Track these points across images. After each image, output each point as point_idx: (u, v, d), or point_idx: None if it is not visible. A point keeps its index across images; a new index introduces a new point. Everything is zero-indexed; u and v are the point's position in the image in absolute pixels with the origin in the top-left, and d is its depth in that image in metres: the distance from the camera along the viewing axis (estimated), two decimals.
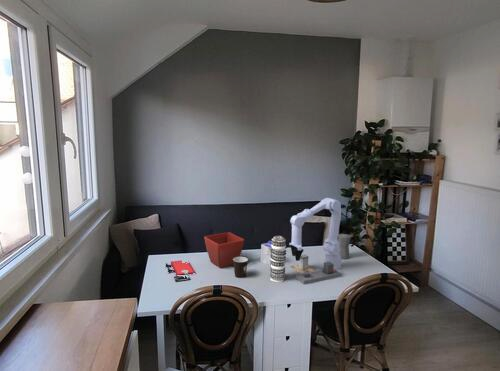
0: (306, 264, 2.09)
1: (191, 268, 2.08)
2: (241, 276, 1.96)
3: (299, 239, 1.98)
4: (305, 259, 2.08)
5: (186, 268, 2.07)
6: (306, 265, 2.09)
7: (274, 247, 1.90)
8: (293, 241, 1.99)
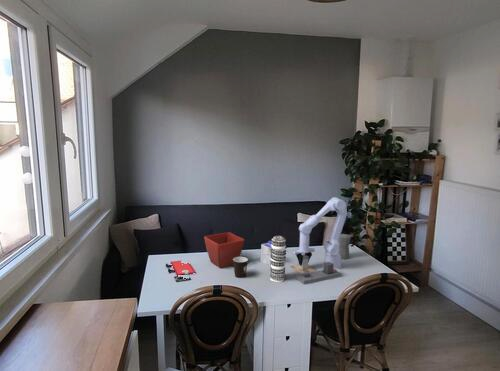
0: (306, 264, 2.09)
1: (191, 268, 2.08)
2: (241, 276, 1.96)
3: (301, 246, 2.06)
4: (305, 259, 2.08)
5: (186, 268, 2.07)
6: (306, 265, 2.09)
7: (274, 247, 1.90)
8: None
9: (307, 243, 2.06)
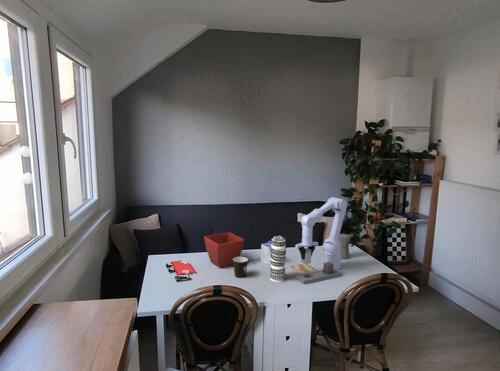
0: (309, 258, 1.99)
1: (191, 268, 2.08)
2: (241, 276, 1.96)
3: (304, 239, 1.97)
4: (308, 252, 1.99)
5: (186, 268, 2.07)
6: (309, 259, 2.00)
7: (274, 247, 1.90)
8: None
9: (311, 235, 1.97)
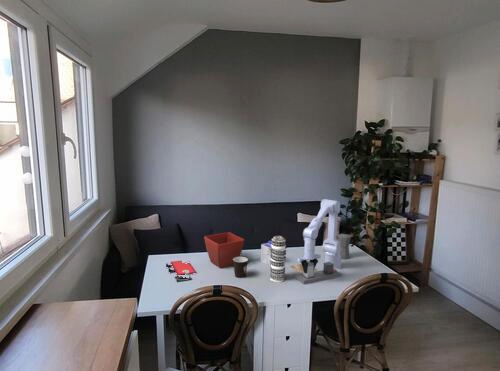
0: (311, 272, 1.92)
1: (192, 268, 2.08)
2: (241, 276, 1.96)
3: (306, 252, 1.90)
4: (310, 266, 1.91)
5: (187, 268, 2.07)
6: (311, 273, 1.92)
7: (274, 247, 1.90)
8: None
9: (314, 248, 1.91)
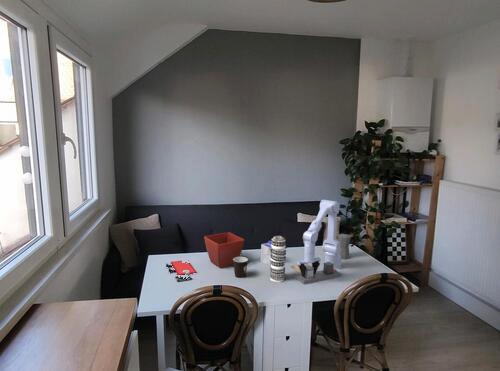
0: (311, 276, 1.93)
1: (192, 268, 2.08)
2: (241, 276, 1.96)
3: (306, 255, 1.90)
4: (310, 270, 1.92)
5: (187, 268, 2.07)
6: (311, 277, 1.93)
7: (274, 247, 1.90)
8: None
9: (314, 251, 1.91)
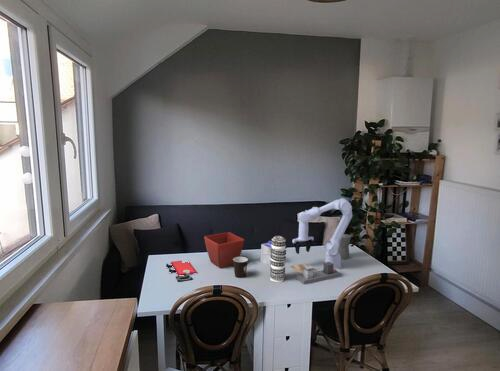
0: (311, 276, 1.93)
1: (192, 268, 2.08)
2: (241, 276, 1.96)
3: (300, 234, 2.09)
4: (310, 270, 1.92)
5: (187, 268, 2.07)
6: (311, 277, 1.93)
7: (274, 247, 1.90)
8: None
9: (305, 231, 2.08)
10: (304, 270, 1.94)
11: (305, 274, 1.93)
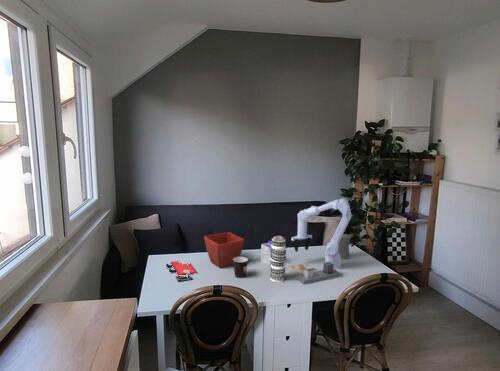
0: (311, 276, 1.93)
1: (192, 268, 2.08)
2: (241, 276, 1.96)
3: (299, 232, 2.13)
4: (310, 270, 1.92)
5: (187, 268, 2.07)
6: (311, 277, 1.93)
7: (274, 247, 1.90)
8: None
9: (303, 229, 2.12)
10: (304, 270, 1.94)
11: (305, 274, 1.93)
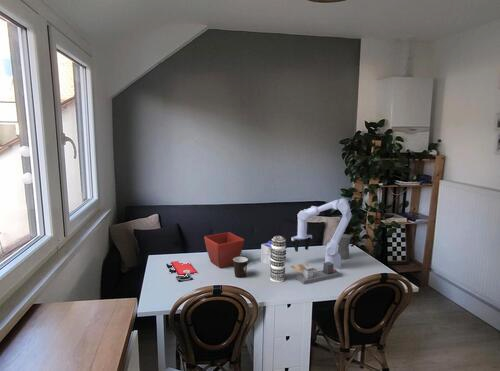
0: (311, 276, 1.93)
1: (192, 268, 2.08)
2: (241, 276, 1.96)
3: (299, 232, 2.13)
4: (310, 270, 1.92)
5: (187, 268, 2.07)
6: (311, 277, 1.93)
7: (274, 247, 1.90)
8: None
9: (303, 229, 2.12)
10: (304, 270, 1.94)
11: (305, 274, 1.93)
